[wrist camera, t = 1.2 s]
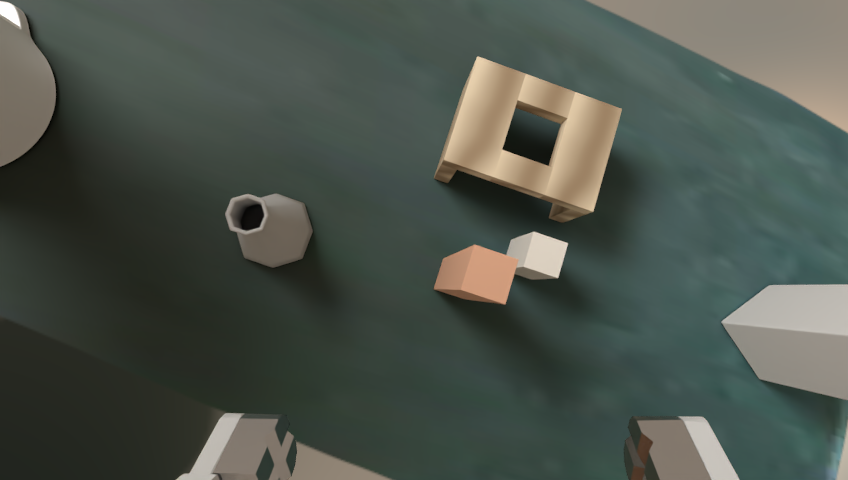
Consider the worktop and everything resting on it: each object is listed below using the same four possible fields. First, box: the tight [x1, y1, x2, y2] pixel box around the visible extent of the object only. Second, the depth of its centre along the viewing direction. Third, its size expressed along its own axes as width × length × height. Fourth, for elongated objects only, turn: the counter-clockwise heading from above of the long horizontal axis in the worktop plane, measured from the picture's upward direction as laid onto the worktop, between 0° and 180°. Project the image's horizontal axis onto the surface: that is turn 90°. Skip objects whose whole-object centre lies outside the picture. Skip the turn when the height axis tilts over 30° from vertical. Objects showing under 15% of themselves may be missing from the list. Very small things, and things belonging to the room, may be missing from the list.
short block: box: [507, 232, 568, 280], centre depth 44 cm, size 3×3×7 cm
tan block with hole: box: [434, 57, 622, 223], centre depth 45 cm, size 14×10×7 cm
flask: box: [225, 193, 313, 268], centre depth 40 cm, size 7×7×10 cm
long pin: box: [434, 245, 519, 304], centre depth 39 cm, size 3×3×15 cm
